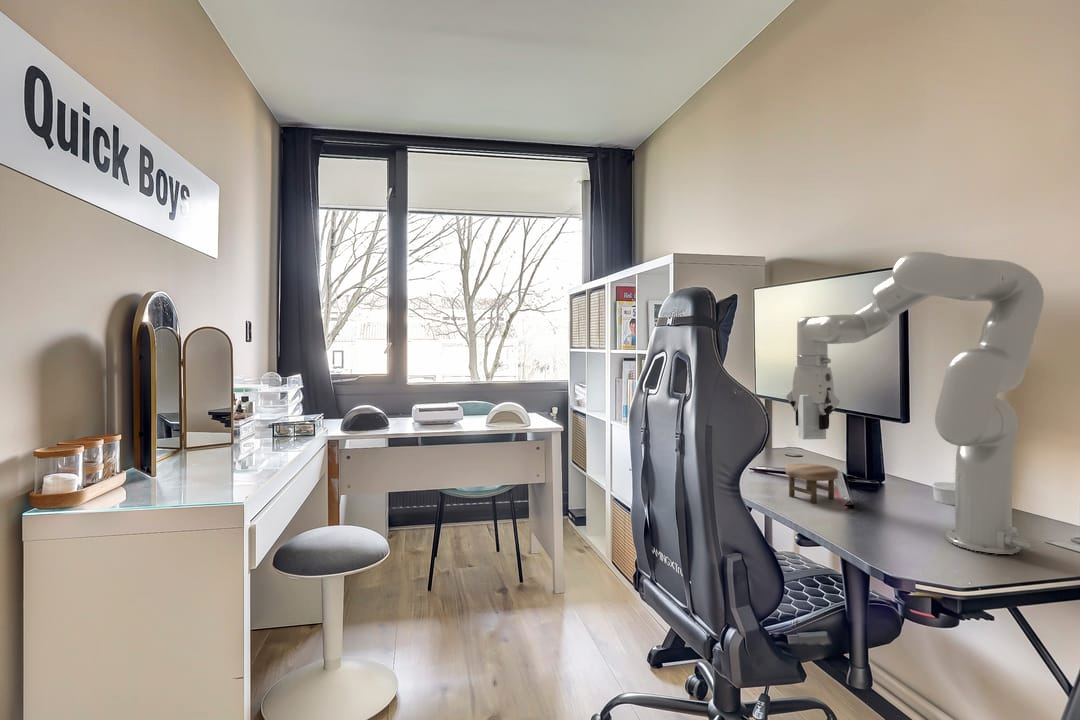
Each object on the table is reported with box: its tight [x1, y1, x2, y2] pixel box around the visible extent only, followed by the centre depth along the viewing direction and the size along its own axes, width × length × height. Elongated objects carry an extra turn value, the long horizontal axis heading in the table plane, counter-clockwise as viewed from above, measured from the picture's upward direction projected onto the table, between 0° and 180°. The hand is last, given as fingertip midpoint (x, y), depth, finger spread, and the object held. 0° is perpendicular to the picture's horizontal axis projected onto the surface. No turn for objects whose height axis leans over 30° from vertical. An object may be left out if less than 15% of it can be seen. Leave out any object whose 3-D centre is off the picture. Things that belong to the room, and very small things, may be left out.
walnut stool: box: [785, 463, 839, 505], centre depth 158 cm, size 13×13×8 cm
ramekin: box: [931, 481, 955, 506], centre depth 152 cm, size 9×9×4 cm
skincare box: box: [797, 395, 827, 440], centre depth 156 cm, size 6×4×12 cm
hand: (811, 426), depth 157 cm, fingers closed on skincare box, 6 cm apart
